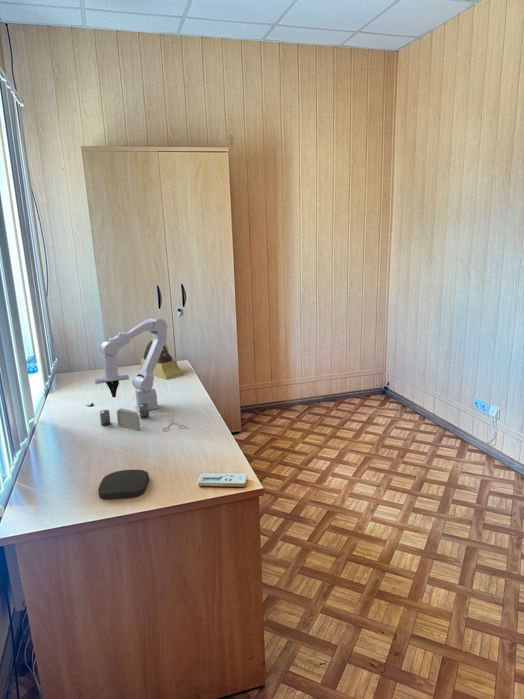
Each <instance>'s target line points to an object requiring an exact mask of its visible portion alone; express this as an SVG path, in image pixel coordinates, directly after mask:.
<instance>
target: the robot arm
mask: <svg viewBox="0 0 524 699" xmlns="http://www.w3.org/2000/svg"><path fill="white" fill-rule="evenodd" d="M168 328H169V326H168V324H167V323H166V320H165V319H163V318H157V317H154V316H150V317H148V318H146V319H143V321H142V322H141V323H139V324H138V325H136V326H134V327H133V328H131V329H130V330H129V331H127V332H125V331H124V332H123V331H122V332H118V333H117V335H116V336H114V337H112V338H109V339H108V341H103V342H102V343H101V344H100V348H99V351H100V352H101V354H102V361H103V362H102V363H103V372H104V377H100V378H96V379H94V384H95V385H100V384H104V383H105V384H106V385H107V387H108V389H109V391H110V394H111V396H112V398H116V397H117V391H118V387H119V385H120V381H125V380H126V381H129V380H130V376H129V374H119V370H118V362H117V359H118V358H117V353H118V352H119V350H120V349H122V348H124V347H126V346H127V345H128V344H130V343H131V340H132V339H134V338H135V337H137V336H139V335H141V334H142V333H144V332H150V333H151V336H152V335H153V337H154V341H153V343H152V345H151V348H150V350H149V353H148V355H147V358H146V360H145V363H144V365H143V367H142V369H141V370H140V371H137V373H136V375H134V377H133V378H132V382H131V383H132V385H133V387H134V390H135V397H136V398H135V400H136V405H135V406H134V407H135V409H136V412H137V413H138V412H139V413H140V410H139V405H140V404H143V403H147V404H148V408H149V411H151V410H157V409H159V407H158V405H159V404H158V397H157V396H158V395H157V392H156V391H157V390H156V388H153V386H154V380H155V376H153V371H154V369H155V366H156V364H157V361H158V359H159V356H160V354H161V352H162V349H163V347H164V344H166V341H167V338H168V336H167V335H168V334H167V331H168Z"/></svg>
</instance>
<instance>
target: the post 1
mask: <svg viewBox="0 0 524 699" xmlns="http://www.w3.org/2000/svg"><path fill="white" fill-rule="evenodd" d="M110 415H111V414H110V410H109V409H102V410H100V411H99V419H100V425H101V426H102V427H108V426H110V425H111V424H112V422H111V416H110Z"/></svg>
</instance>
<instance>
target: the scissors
mask: <svg viewBox="0 0 524 699" xmlns="http://www.w3.org/2000/svg"><path fill="white" fill-rule="evenodd" d="M164 417H165V418H166V419H167V421H168V422H169V424H168V425H167V426H166V427H163V428H162V432H169V431H170V430H171V428H170V426H172V425H177V427H178V428H179V429H187V430H189V429H190V428H189V427H187V425H185V424H180V423H176V422H175V419H174V418H175V416H174V414H172V417H171V419H170V418H168V416H165V415H164Z"/></svg>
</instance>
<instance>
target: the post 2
mask: <svg viewBox="0 0 524 699" xmlns="http://www.w3.org/2000/svg"><path fill="white" fill-rule="evenodd" d="M139 410H140V412H139V419H141V420H145V419H146V420H147V419H148V418H149V419H150V410H149V408H148V404H147V403H143V404H140V405H139Z"/></svg>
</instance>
